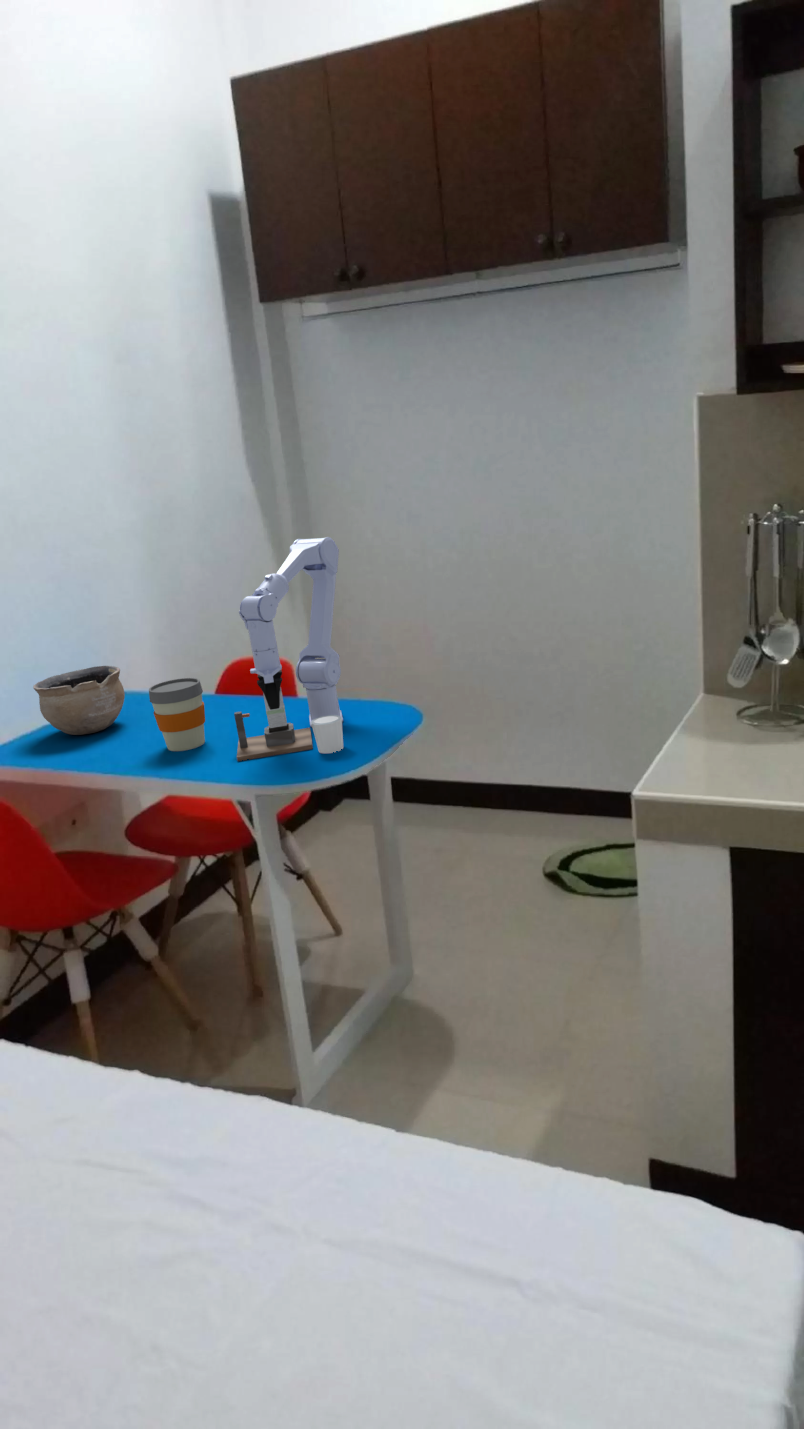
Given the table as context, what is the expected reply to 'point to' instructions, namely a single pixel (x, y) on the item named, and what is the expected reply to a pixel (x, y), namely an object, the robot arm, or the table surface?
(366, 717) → the table surface
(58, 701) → the ceramic bowl
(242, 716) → the stand
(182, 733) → the reusable coffee cup
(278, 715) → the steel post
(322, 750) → the shot glass
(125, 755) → the table surface
